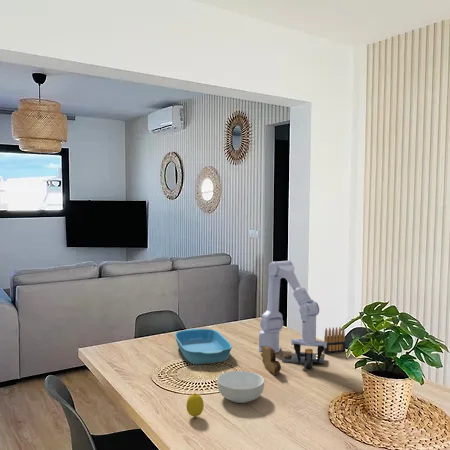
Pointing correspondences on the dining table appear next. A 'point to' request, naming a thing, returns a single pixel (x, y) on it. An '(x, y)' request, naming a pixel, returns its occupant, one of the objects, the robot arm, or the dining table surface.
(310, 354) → the pin
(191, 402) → the lemon
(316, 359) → the chain end right
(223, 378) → the cereal bowl
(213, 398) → the dining table surface
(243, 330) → the dining table surface
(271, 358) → the wooden carving
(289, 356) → the chain end left
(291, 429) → the dining table surface
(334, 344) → the ammunition clip
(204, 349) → the casserole dish
